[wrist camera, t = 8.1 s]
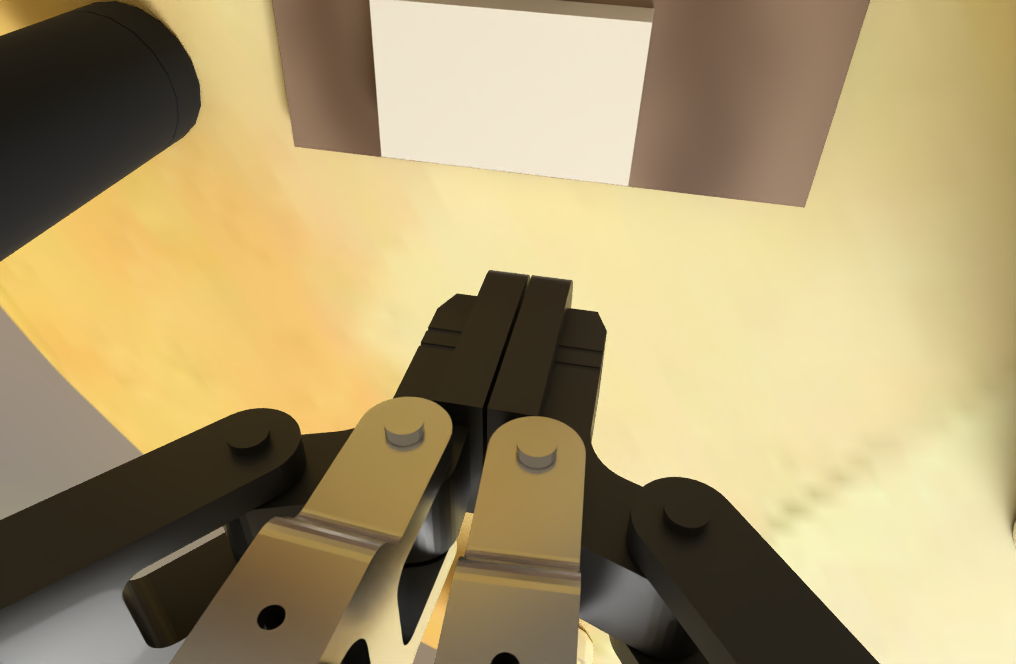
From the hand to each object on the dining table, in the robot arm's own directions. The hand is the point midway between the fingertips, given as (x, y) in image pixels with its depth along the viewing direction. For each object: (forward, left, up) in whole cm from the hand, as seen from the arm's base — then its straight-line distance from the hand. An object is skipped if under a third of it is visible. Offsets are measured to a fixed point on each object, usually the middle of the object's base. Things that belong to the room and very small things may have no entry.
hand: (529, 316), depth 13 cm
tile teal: (-1, +2, -17) cm, 17 cm away
